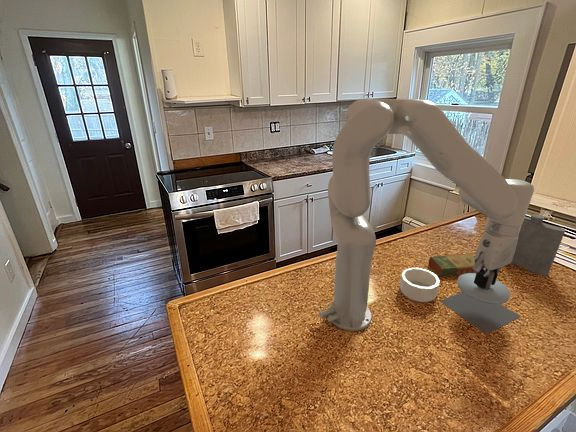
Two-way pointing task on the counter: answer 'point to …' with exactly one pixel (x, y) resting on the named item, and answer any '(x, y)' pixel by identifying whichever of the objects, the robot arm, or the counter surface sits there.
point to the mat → (480, 312)
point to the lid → (487, 295)
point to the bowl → (419, 284)
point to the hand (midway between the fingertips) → (484, 283)
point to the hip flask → (537, 245)
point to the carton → (453, 264)
